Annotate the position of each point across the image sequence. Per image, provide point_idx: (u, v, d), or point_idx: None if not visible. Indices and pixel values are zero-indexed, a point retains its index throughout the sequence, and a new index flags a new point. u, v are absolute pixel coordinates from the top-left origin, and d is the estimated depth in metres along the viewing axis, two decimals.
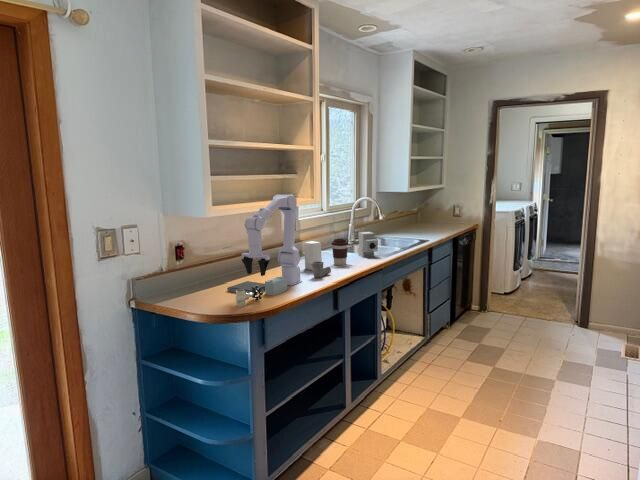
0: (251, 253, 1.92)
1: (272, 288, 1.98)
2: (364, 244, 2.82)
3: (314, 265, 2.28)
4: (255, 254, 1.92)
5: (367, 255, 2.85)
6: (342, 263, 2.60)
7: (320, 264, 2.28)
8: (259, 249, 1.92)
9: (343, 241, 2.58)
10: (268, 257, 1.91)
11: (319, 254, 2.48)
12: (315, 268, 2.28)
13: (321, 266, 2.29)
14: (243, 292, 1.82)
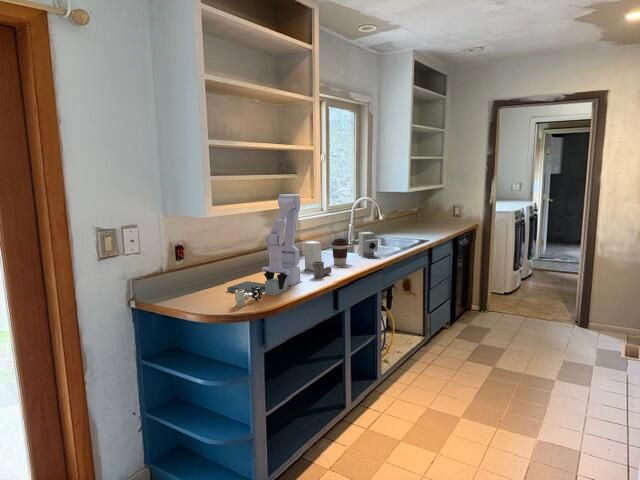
0: (272, 268, 2.00)
1: (272, 288, 1.98)
2: (364, 244, 2.82)
3: (314, 265, 2.28)
4: (276, 269, 1.99)
5: (367, 255, 2.85)
6: (342, 263, 2.60)
7: (320, 264, 2.28)
8: (280, 264, 2.00)
9: (343, 241, 2.58)
10: (288, 272, 1.99)
11: (319, 254, 2.48)
12: (315, 268, 2.28)
13: (321, 266, 2.29)
14: (242, 292, 1.82)
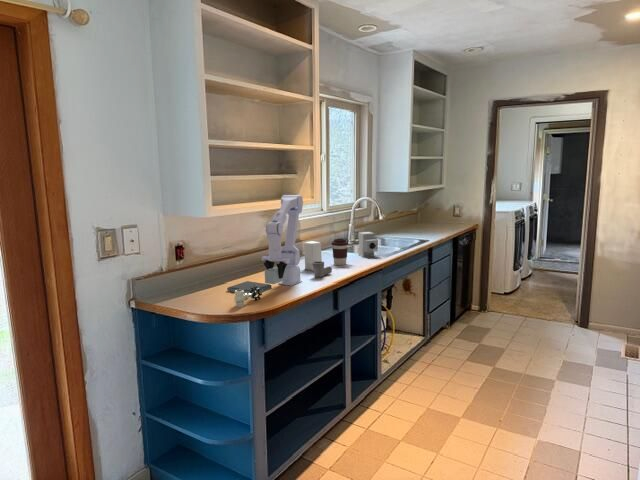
0: (271, 257, 1.99)
1: (272, 277, 1.98)
2: (364, 244, 2.82)
3: (315, 265, 2.28)
4: (275, 258, 1.99)
5: (367, 255, 2.85)
6: (342, 263, 2.60)
7: (321, 264, 2.29)
8: (279, 253, 2.00)
9: (343, 241, 2.58)
10: (288, 261, 1.98)
11: (319, 254, 2.48)
12: (316, 268, 2.29)
13: (322, 266, 2.29)
14: (242, 292, 1.82)
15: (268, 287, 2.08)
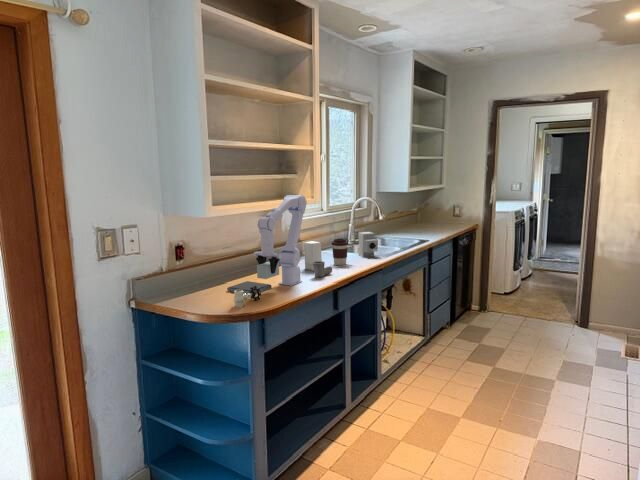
0: (264, 252, 2.00)
1: (264, 272, 1.98)
2: (364, 244, 2.82)
3: (315, 265, 2.28)
4: (267, 253, 2.00)
5: (367, 255, 2.85)
6: (342, 263, 2.60)
7: (321, 264, 2.29)
8: (272, 248, 2.00)
9: (343, 241, 2.58)
10: (280, 256, 1.99)
11: (319, 254, 2.48)
12: (316, 268, 2.29)
13: (322, 266, 2.30)
14: (241, 293, 1.81)
15: (268, 287, 2.08)
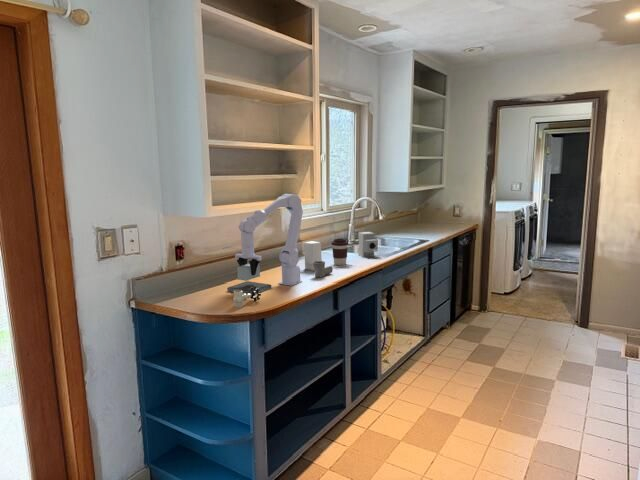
0: (244, 254, 2.03)
1: (244, 273, 2.02)
2: (364, 244, 2.82)
3: (315, 264, 2.29)
4: (248, 255, 2.03)
5: (367, 255, 2.85)
6: (342, 263, 2.60)
7: (321, 264, 2.29)
8: (252, 250, 2.04)
9: (343, 241, 2.58)
10: (260, 258, 2.02)
11: (319, 254, 2.48)
12: (316, 267, 2.29)
13: (322, 266, 2.30)
14: (241, 293, 1.81)
15: (268, 287, 2.08)
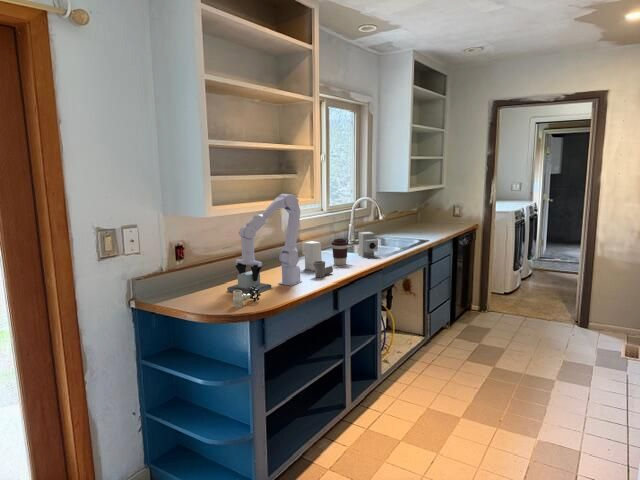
0: (244, 260, 2.04)
1: (244, 281, 2.03)
2: (364, 244, 2.82)
3: (316, 264, 2.29)
4: (248, 261, 2.03)
5: (367, 255, 2.85)
6: (342, 263, 2.60)
7: (322, 263, 2.29)
8: (252, 256, 2.04)
9: (343, 241, 2.58)
10: (260, 264, 2.03)
11: (319, 254, 2.48)
12: (317, 267, 2.30)
13: (323, 265, 2.30)
14: (240, 293, 1.81)
15: (268, 287, 2.08)
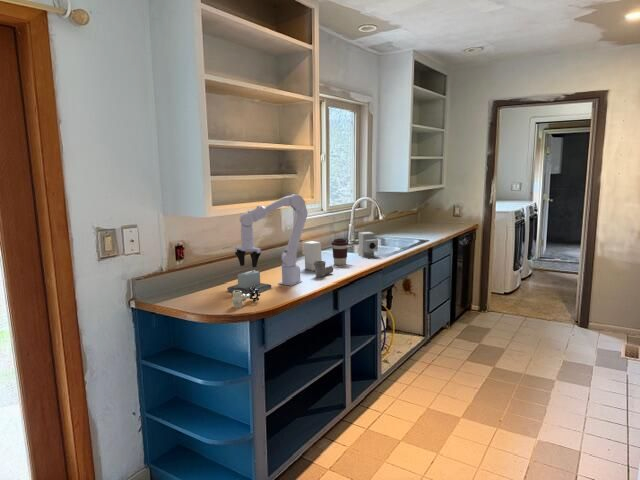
0: (243, 246, 2.09)
1: (244, 281, 2.03)
2: (364, 244, 2.82)
3: (316, 264, 2.29)
4: (247, 247, 2.09)
5: (367, 255, 2.85)
6: (342, 263, 2.60)
7: (322, 263, 2.30)
8: (251, 243, 2.10)
9: (343, 241, 2.58)
10: (259, 250, 2.08)
11: (319, 254, 2.48)
12: (317, 267, 2.30)
13: (323, 265, 2.30)
14: (240, 293, 1.81)
15: (268, 287, 2.08)
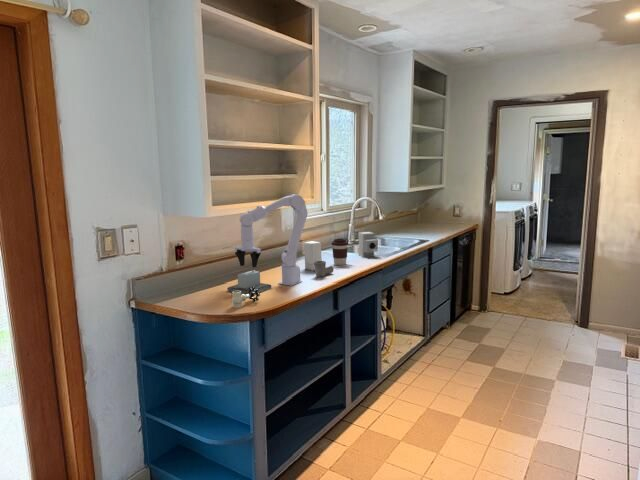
0: (243, 246, 2.10)
1: (244, 281, 2.03)
2: (364, 244, 2.82)
3: (316, 264, 2.29)
4: (247, 247, 2.09)
5: (367, 255, 2.85)
6: (342, 263, 2.60)
7: (322, 263, 2.30)
8: (251, 243, 2.10)
9: (343, 241, 2.58)
10: (259, 250, 2.08)
11: (319, 254, 2.48)
12: (317, 267, 2.30)
13: (323, 265, 2.31)
14: (239, 293, 1.80)
15: (268, 287, 2.08)
